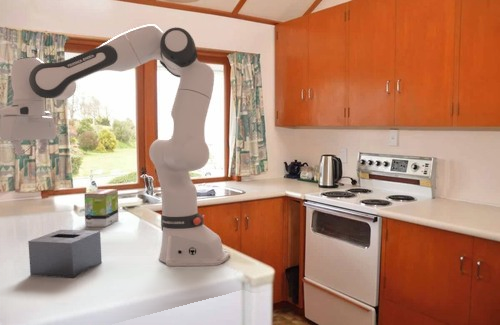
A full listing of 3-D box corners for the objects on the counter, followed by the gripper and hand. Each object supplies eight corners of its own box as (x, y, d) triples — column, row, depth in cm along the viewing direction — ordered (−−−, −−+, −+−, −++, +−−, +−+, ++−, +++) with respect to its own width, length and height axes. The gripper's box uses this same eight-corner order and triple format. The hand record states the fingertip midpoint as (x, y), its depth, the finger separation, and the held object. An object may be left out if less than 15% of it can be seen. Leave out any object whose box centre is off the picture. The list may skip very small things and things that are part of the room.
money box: (101, 262, 130) (100, 231, 129) (73, 278, 117) (71, 243, 116) (62, 260, 133) (60, 229, 132) (30, 275, 120) (28, 241, 119)
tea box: (107, 226, 180) (106, 193, 179) (84, 227, 180) (83, 193, 179) (119, 219, 195) (117, 188, 194) (98, 219, 195) (96, 188, 194)
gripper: (43, 112, 141) (46, 152, 142) (-6, 109, 121) (-3, 156, 122) (60, 111, 140) (62, 152, 141) (13, 108, 120) (16, 156, 121)
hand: (31, 154), depth 131 cm, fingers open, 8 cm apart
